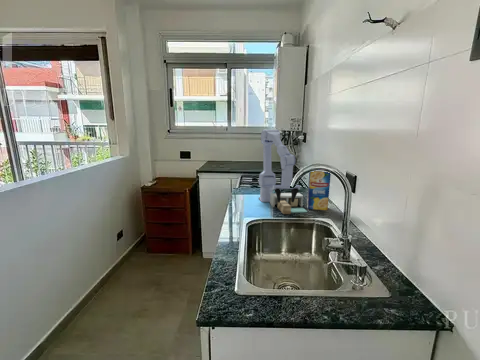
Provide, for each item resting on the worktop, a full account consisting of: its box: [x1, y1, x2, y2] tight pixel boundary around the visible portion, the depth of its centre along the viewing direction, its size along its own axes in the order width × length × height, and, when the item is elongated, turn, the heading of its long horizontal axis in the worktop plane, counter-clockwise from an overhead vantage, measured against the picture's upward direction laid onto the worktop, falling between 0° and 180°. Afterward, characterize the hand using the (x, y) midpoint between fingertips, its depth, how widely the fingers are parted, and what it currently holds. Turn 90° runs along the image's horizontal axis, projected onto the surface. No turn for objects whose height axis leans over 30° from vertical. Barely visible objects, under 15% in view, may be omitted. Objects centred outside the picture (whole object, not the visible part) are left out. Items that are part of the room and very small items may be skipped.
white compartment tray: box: [269, 192, 304, 208], centre depth 160 cm, size 7×18×6 cm, turn 98°
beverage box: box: [306, 171, 332, 211], centre depth 154 cm, size 7×11×22 cm, turn 81°
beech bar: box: [276, 200, 292, 215], centre depth 149 cm, size 12×4×4 cm, turn 8°
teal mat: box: [291, 207, 308, 214], centre depth 150 cm, size 7×9×1 cm
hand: (285, 202), depth 146 cm, fingers open, 7 cm apart
